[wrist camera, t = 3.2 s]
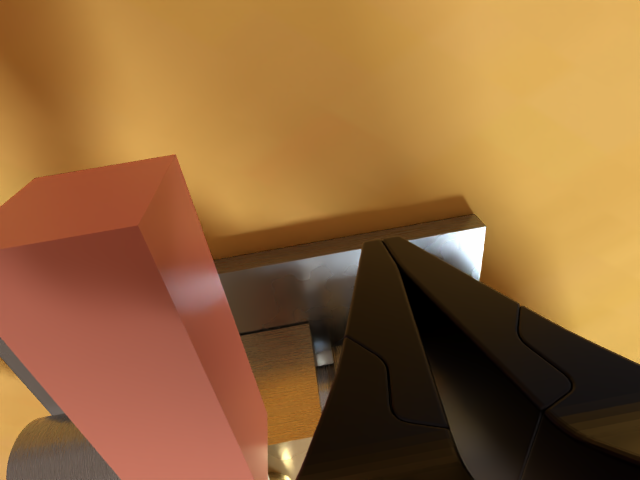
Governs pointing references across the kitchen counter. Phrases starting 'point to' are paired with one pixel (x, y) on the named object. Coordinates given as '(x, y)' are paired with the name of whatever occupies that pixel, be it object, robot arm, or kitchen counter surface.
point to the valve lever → (131, 322)
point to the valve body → (261, 345)
